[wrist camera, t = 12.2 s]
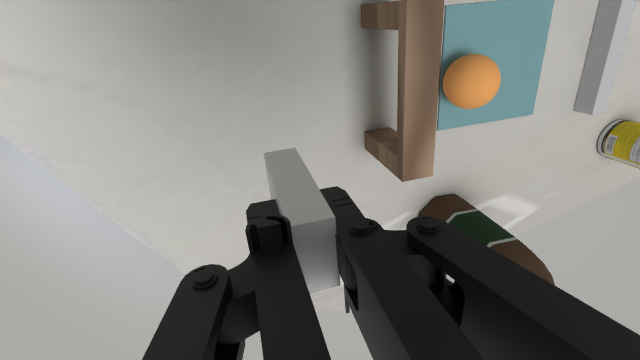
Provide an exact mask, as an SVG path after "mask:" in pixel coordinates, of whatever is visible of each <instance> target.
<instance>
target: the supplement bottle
mask: <svg viewBox="0 0 640 360" xmlns="http://www.w3.org/2000/svg"><path fill="white" fill-rule="evenodd" d="M598 151H599V153H600V154H601V155H602V156H604V157H607V158H610V159H612V160H615V161H618V162H621V163H624V164H627V165H630V166H633V167H636V168H639V169H640V123H637V122H633V121H628V120H617V121H615V122H613V123H611V124H610V125H608V126H607V127H606V128H605V130H604V131H603V132H602V134H601V135H600V137H599V140H598Z"/></svg>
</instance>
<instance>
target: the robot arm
mask: <svg viewBox="0 0 640 360" xmlns="http://www.w3.org/2000/svg"><path fill="white" fill-rule="evenodd" d="M264 159H265V165H266V171H267V177H268V183H269V189H270V195H271V200H268V201H263V202H258V203H253V204H250V206H249V207H248V209H247V211H246V215H247V223H248V225H247V226H246V230H245V231H246V236H247V241H248V246H249V250H250V254H249V256H248V257H247V259H246V260H245V261H244V262H242V263H241V264H240V265H238V266H236V267H234V268H232V269H230V270H228V271H227V269H226V268H225V267H223V266H221V265H214V264H210V265H205V266H201V267H199V268H196V269H194V270H192V271H191V272H189V273H188V274H187V275H185V277H184V278H183V279H182V281H181V282H180V284H179V286H178V288H177V290H176V292H175V294H174V296H173V298H172V300H171V303H170V305H169V307H168V308H167V310H166V313H165V315H164V317H163V319H162V320H161V322H160V324H159V327H158V329H157V331H156V333H155V335H154V337H153V339H152V341H151V343H150V345H149V347H148V349H147V351H146V353H145V355H144V357H143V359H142V360H242V358H243V353H244V348H245V339H246V338H248V337H250V336H251V335H253V334H255V333H257V332H258V331H260V334H261V342H262V350H263V358H264V360H331V358H330V355H329V352H328V349H327V346H326V343H325V340H324V336H323V333H322V330H321V327H320V324H319V321H318V318H317V315H316V312H315V309H314V306H313V303H312V300H311V297H310V294H309V293H311V292H315V291H319V290H323V289H327V288H331V287H335V286H339V285H340V275H341V278H342V280H343V282H344V294H345V308H346V313H349V306H350V308H351V310H352V313H353V315H354V317H355V319H356V322H357V324H358V326H359V328H360V330H361V333H362V335H363V337H364V339H365V341H366V344H367V346H368V348H369V351H370V353H371V355H372V357H373V360H640V335H638V334H637V333H635V332H633V331H632V330H630V329H628V328H626V327H625V326H623V325H621V324H620V323H617V322H616V321H614V320H613V319H611V318H609V317H607V316H606V315H604V314H602V313H600V312H599V311H597V310H595V309H594V308H592V307H591V306H589V305H587V304H585V303H584V302H582V301H580V300H579V299H577V298H575V297H573V296H572V295H570V294H568V293H566V292H565V291H563V290H561V289H560V288H558V287H556V286H555V285H553V284H551V283H549V282H548V281H546V280H544V279H543V278H541V277H539V276H538V275H536V274H534V273H532V272H531V271H529V270H527V269H526V268H524V267H522V266H520V265H519V264H517V263H515V262H514V261H512V260H510V259H508V258H507V257H505V256H503V255H502V254H500V253H498V252H497V251H495V250H493V249H491V248H490V247H488V246H486V245H485V244H483V243H481V242H479V241H478V240H476V239H474V238H473V237H471V236H469V235H467V234H466V233H464V232H462V231H461V230H459V229H457V228H455V227H454V226H452V225H450V224H449V223H447V222H445V221H443V220H441V219H439V218H435V217H430V216H420V217H416V218H413V219H412V220H410V221H409V222H408V224H407V227H406V230H396V231H392V230H384V229H383V228H382V227H381V225H380V224H378V223H377V222H376V221H374V220H371V219H368V218H365V217H364V216H363V214H362V213H361V212H360V210H359V209H358V207H357V206H356V205H355V203H354V202H353V201H352V199H351V198H350V196H349V195H348V194H347V192H346V191H345V190H343V189H341V188H339V187H337V186H336V187H330V188H325V189H320V190H319V188H318V186H317V185H316V183H315V181H314V179H313V178H312V176H311V174H310V173H309V171H308V169H307V167H306V166H305V164H304V162H303V161H302V159H301V157H300V155H299V154H298V152H297V150H296V148H292V149H286V150H280V151H274V152H268V153H264ZM339 273H340V274H339ZM446 274H447V275H449V276H450V277H451V278H453V279H454V280H455V281H454V283H452V282H451V281H449V280H448V279H446Z"/></svg>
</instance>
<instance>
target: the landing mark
mask: <svg viewBox="0 0 640 360" xmlns="http://www.w3.org/2000/svg"><path fill="white" fill-rule="evenodd" d="M553 4H554V0H503V1H493V2H482V3H471V4H461V5H450V6H445V21H444V36H443V51H442V65H441V80H440V95H439V110H438V125H437V130H444V129H449V128H455V127H461V126H467V125H473V124H479V123H485V122H490V121H496V120H502V119H508V118H514V117H520V116H526V115H531V114H533V110H534V105H535V99H536V94H537V89H538V83H539V78H540V73H541V67H542V62H543V57H544V52H545V46H546V41H547V36H548V30H549V25H550V20H551V14H552V9H553ZM469 54H481V55H484V56H487V57H489V58H490V59H492V60H493V61H494V62H495V63H496V65H497V66H498V68H499V70H500V74H501V82H500V87H499V90H498V92H497V93H496V95H495V96H494V98H493V99H492V100H491V101H489V102H488V103H487V104H485V105H483V106H481V107H478V108H475V109H463V108H459V107H457V106H455V105H453V104H452V103H451V102H450V101H449V100H448V99H447V97H446V95H445V93H444V90H443V79H444V76H445V73H446V71H447V69H448V68H449V67H450V65H451V64H452V63H453V62H454V61H456V60H457V59H459V58H461V57H463V56H465V55H469Z"/></svg>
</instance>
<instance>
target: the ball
mask: <svg viewBox="0 0 640 360" xmlns="http://www.w3.org/2000/svg"><path fill="white" fill-rule="evenodd" d="M500 82H501V74H500V70H499V68H498V66H497V65H496V63H495V62H494V61H493V60H492V59H490V58H489V57H487V56H484V55H481V54H469V55H465V56H463V57H461V58H459V59H457V60H456V61H454V62H453V63H452V64H451V65H450V67H449V68H448V69H447V71H446V73H445V76H444V79H443V90H444V93H445V95H446V97H447V99H448V100H449V101H450V102H451V103H452V104H453V105H455V106H457V107H459V108H463V109H475V108H478V107H481V106H483V105H485V104H487V103H488V102H489V101H491V100H492V99H493V98H494V96H495V95H496V93H497V92H498V90H499V87H500Z"/></svg>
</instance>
